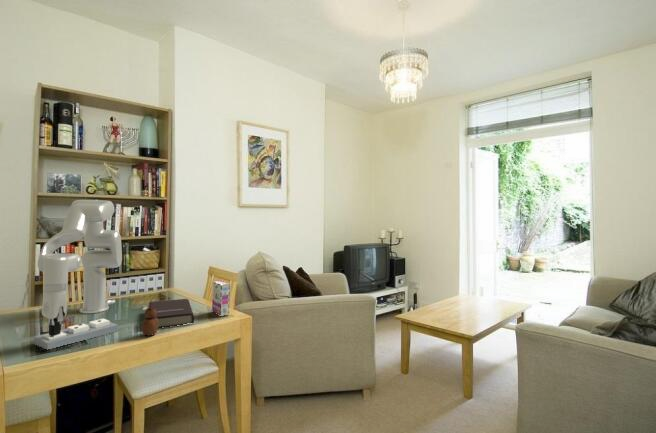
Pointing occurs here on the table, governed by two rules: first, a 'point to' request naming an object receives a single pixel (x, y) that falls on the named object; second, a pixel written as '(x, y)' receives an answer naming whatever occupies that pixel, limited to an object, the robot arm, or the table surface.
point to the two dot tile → (78, 328)
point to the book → (173, 312)
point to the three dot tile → (54, 336)
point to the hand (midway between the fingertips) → (54, 334)
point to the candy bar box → (220, 297)
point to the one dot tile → (99, 323)
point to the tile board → (74, 336)
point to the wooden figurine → (150, 321)
